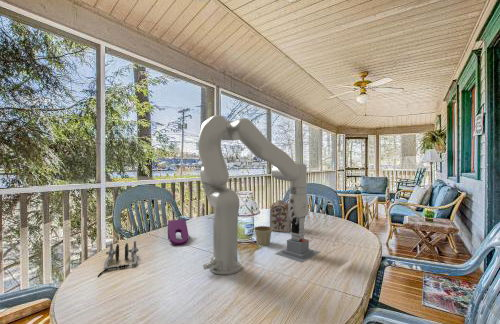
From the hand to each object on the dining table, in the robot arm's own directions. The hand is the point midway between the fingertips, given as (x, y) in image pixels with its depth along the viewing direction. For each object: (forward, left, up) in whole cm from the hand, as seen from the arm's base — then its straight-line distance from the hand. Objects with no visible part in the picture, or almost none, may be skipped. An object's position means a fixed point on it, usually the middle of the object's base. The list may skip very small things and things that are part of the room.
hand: (297, 231), depth 115 cm
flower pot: (0, +20, -11) cm, 23 cm away
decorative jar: (+31, +31, -11) cm, 45 cm away
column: (0, 0, -8) cm, 8 cm away
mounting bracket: (-24, +59, -11) cm, 64 cm away
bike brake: (-57, +48, -12) cm, 76 cm away
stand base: (0, 0, -11) cm, 11 cm away
